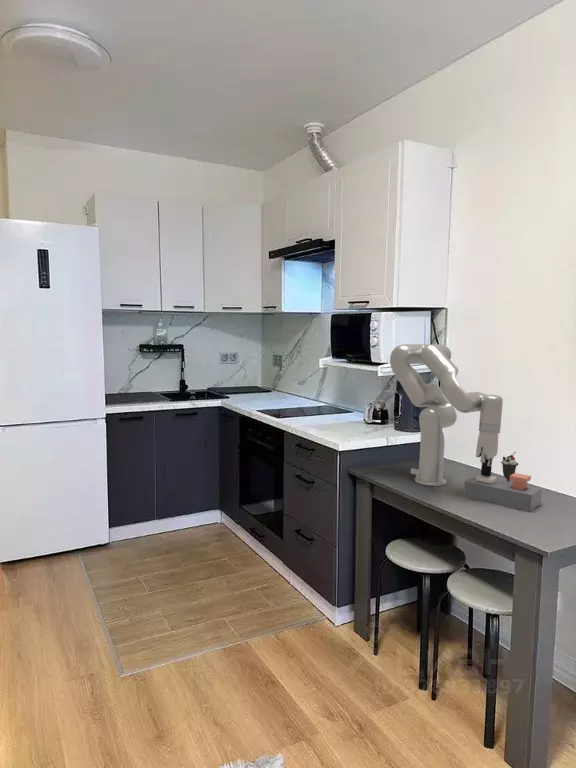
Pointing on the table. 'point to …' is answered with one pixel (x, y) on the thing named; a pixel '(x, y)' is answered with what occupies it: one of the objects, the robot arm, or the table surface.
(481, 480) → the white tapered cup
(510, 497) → the block
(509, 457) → the sundae
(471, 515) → the table surface
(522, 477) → the pink block
